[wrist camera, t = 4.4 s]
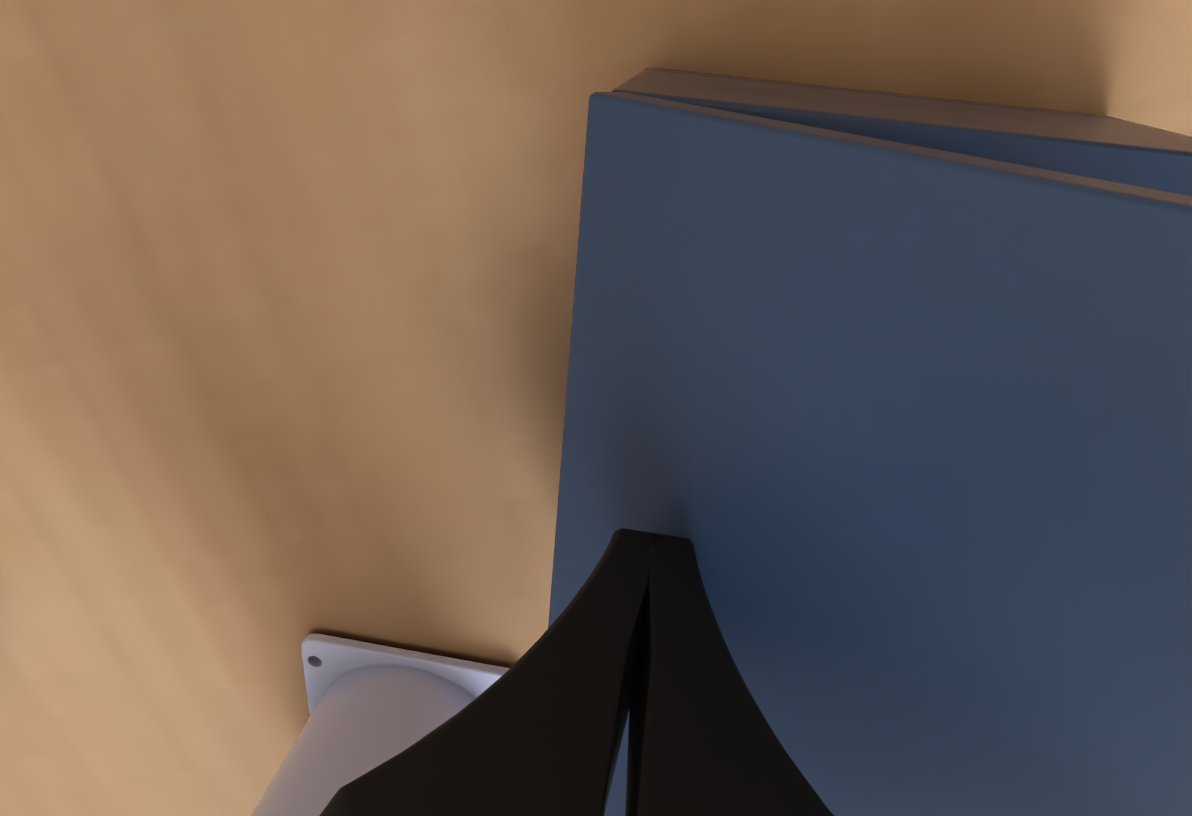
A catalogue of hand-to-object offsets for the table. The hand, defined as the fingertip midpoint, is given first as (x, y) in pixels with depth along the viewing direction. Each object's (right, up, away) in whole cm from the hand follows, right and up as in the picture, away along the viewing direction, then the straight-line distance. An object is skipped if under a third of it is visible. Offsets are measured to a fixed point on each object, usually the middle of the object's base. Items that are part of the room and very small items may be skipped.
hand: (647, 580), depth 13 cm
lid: (+3, -1, -1) cm, 3 cm away
